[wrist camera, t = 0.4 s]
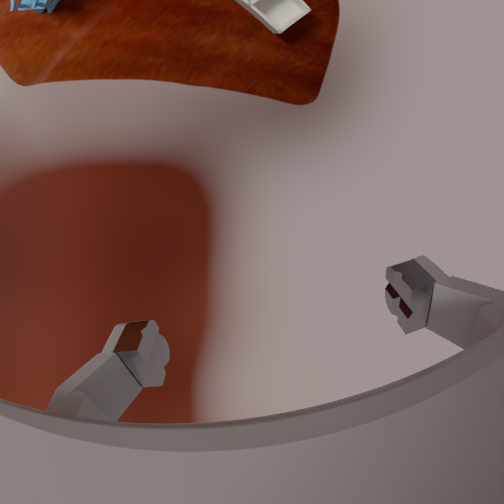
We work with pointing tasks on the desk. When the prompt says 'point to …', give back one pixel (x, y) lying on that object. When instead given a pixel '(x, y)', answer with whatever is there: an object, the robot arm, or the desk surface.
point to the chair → (35, 5)
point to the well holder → (276, 12)
